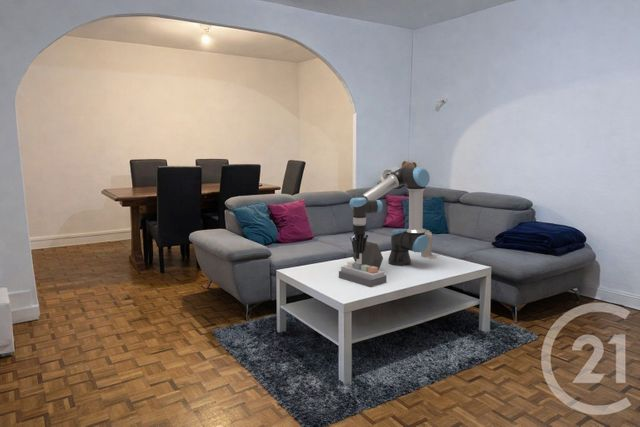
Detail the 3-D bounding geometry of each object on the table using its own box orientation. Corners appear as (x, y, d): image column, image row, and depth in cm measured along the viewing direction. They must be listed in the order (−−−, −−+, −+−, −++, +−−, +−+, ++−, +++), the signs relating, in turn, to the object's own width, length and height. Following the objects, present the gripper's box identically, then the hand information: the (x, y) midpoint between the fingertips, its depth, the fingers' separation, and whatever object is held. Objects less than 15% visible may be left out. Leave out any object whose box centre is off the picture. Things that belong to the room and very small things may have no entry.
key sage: (365, 269, 265) (365, 264, 264) (370, 270, 262) (370, 265, 261) (360, 270, 262) (361, 265, 262) (366, 272, 259) (366, 267, 259)
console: (354, 273, 279) (354, 263, 278) (386, 282, 260) (386, 271, 259) (338, 277, 269) (338, 267, 268) (370, 287, 251) (370, 275, 250)
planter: (386, 266, 278) (373, 235, 284) (377, 268, 273) (365, 237, 279) (369, 275, 290) (358, 246, 296) (361, 278, 285) (349, 248, 291)
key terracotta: (372, 271, 261) (372, 265, 260) (377, 272, 258) (378, 267, 257) (368, 272, 258) (368, 267, 258) (373, 273, 255) (373, 268, 255)
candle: (435, 259, 314) (436, 231, 311) (419, 256, 324) (420, 228, 321) (441, 257, 318) (442, 230, 316) (424, 254, 329) (425, 227, 326)
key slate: (358, 268, 269) (358, 263, 268) (363, 269, 266) (363, 264, 265) (354, 269, 266) (354, 264, 266) (359, 270, 263) (359, 265, 263)
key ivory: (352, 265, 273) (352, 260, 272) (356, 266, 270) (356, 261, 269) (347, 266, 270) (347, 261, 270) (352, 268, 267) (352, 263, 267)
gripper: (362, 222, 269) (361, 260, 273) (346, 224, 261) (346, 264, 264) (371, 223, 264) (371, 263, 267) (356, 226, 255) (356, 267, 259)
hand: (359, 263), depth 266 cm, fingers closed
